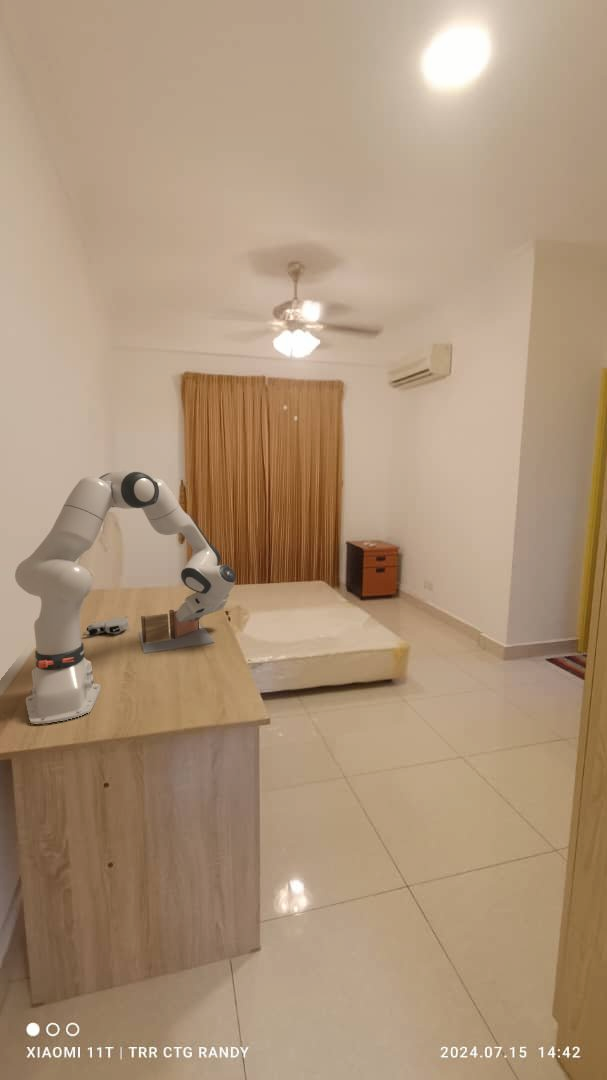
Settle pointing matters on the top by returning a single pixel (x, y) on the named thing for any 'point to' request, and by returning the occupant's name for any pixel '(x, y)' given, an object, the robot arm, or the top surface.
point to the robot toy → (108, 626)
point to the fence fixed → (157, 627)
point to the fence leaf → (184, 626)
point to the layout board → (178, 641)
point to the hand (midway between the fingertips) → (193, 619)
